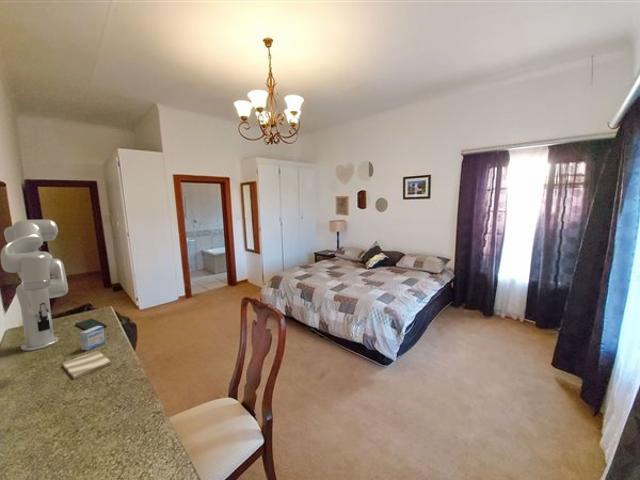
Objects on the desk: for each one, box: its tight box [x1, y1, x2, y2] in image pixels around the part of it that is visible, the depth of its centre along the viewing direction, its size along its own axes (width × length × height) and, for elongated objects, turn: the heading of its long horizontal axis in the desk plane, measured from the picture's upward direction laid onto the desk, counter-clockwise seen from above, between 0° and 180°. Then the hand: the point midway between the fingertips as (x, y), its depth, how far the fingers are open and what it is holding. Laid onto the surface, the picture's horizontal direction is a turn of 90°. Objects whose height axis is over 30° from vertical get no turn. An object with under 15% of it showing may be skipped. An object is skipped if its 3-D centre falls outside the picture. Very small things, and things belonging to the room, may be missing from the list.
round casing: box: [33, 312, 51, 333], centre depth 109 cm, size 5×5×8 cm
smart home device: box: [75, 318, 108, 331], centre depth 152 cm, size 8×2×20 cm
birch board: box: [62, 350, 112, 380], centre depth 113 cm, size 16×12×1 cm
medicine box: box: [79, 326, 106, 352], centre depth 128 cm, size 8×4×9 cm, turn 168°
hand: (42, 328), depth 109 cm, fingers closed on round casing, 4 cm apart
